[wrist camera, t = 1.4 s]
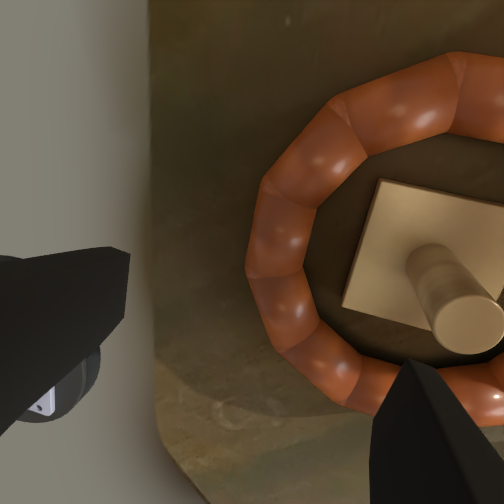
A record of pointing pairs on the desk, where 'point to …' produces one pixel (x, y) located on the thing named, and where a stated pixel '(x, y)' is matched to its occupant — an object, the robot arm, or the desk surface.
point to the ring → (327, 181)
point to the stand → (431, 264)
